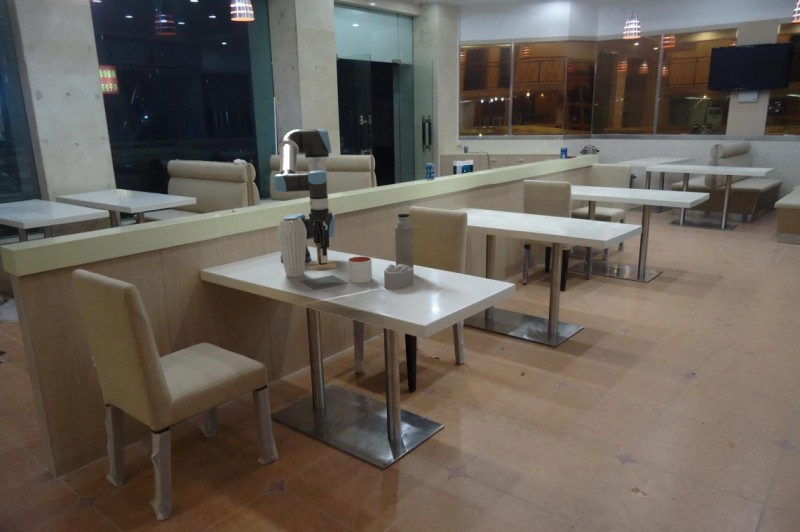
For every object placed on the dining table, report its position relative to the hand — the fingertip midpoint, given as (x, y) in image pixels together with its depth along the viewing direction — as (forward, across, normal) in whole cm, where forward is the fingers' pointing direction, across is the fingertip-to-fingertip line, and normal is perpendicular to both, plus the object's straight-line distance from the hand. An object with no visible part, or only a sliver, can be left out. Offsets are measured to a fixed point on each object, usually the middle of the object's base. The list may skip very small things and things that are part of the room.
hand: (322, 261), depth 244 cm
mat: (+10, +1, 0) cm, 10 cm away
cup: (+10, +7, +15) cm, 19 cm away
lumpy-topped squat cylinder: (+10, +22, +25) cm, 34 cm away
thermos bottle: (+10, +10, +36) cm, 38 cm away
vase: (+10, -18, -6) cm, 22 cm away
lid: (+2, 0, 0) cm, 2 cm away
